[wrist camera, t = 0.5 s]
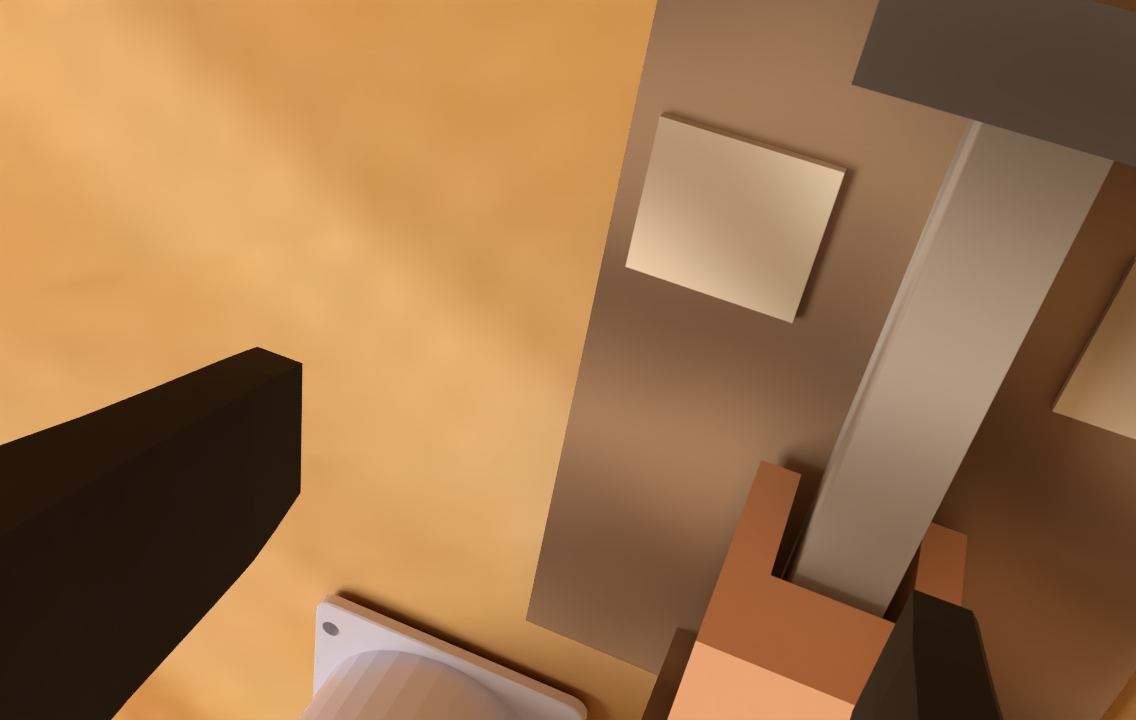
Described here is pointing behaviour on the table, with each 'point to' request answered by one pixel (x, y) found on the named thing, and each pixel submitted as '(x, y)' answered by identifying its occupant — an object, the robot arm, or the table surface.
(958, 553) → the sleeve
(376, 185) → the table surface
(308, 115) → the table surface
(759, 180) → the rail board
